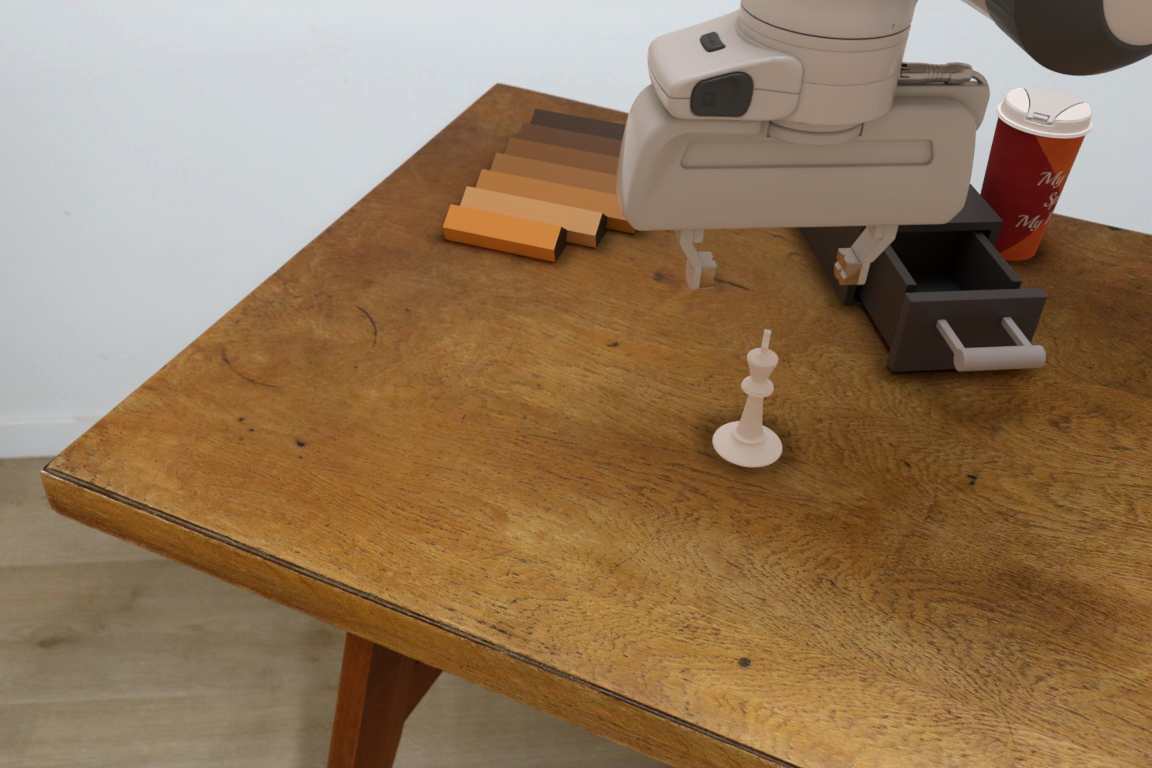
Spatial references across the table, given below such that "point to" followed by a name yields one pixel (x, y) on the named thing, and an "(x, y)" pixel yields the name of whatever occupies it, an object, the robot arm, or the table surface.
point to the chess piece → (752, 416)
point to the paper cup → (1032, 163)
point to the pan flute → (545, 190)
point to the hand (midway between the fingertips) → (774, 282)
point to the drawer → (952, 305)
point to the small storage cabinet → (832, 238)
